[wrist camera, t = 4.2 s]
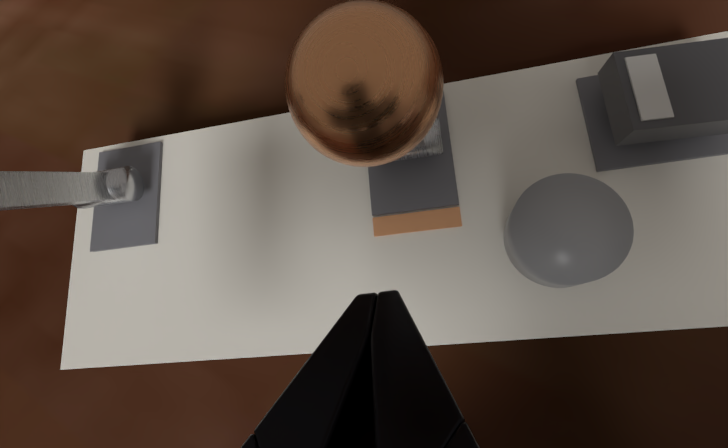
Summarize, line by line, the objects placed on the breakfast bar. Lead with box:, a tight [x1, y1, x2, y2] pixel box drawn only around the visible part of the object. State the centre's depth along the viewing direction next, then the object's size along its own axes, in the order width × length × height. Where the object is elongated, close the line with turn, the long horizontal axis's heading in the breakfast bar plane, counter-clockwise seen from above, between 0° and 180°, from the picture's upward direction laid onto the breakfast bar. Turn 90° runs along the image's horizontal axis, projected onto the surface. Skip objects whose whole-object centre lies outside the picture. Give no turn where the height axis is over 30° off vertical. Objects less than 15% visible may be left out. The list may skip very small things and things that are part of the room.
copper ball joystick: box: [285, 0, 444, 167], centre depth 11 cm, size 3×3×12 cm
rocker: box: [598, 38, 728, 146], centre depth 14 cm, size 3×4×1 cm
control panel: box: [60, 31, 728, 370], centre depth 18 cm, size 11×30×3 cm, turn 94°
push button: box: [504, 173, 634, 288], centre depth 14 cm, size 4×4×2 cm
